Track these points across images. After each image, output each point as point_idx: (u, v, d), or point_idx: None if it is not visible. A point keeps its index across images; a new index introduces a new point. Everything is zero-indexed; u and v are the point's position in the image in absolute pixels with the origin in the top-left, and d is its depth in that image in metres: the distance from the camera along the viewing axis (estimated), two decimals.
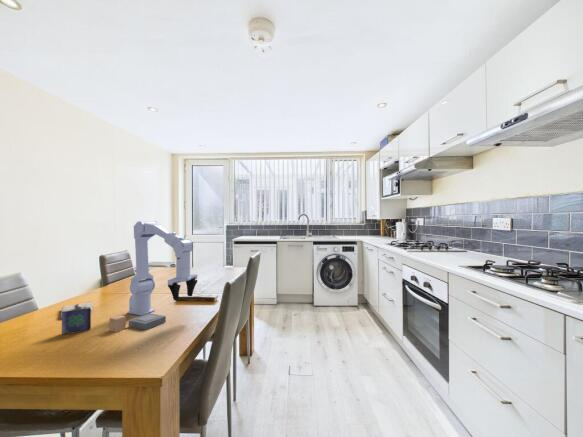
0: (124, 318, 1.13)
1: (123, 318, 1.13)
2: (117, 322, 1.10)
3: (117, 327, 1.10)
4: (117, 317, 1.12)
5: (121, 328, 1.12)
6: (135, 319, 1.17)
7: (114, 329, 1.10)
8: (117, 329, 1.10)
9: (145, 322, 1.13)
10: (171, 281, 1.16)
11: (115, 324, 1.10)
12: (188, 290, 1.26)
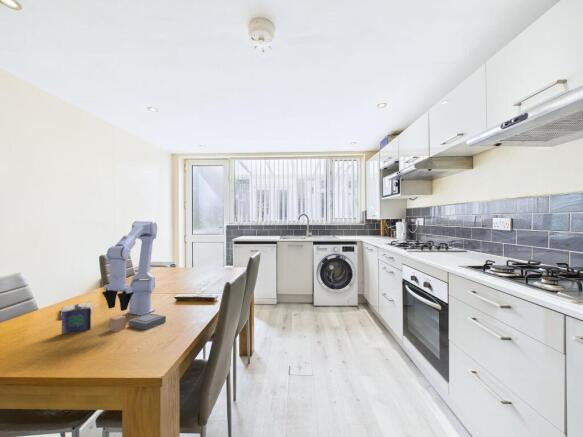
0: (124, 318, 1.13)
1: (123, 318, 1.13)
2: (117, 322, 1.10)
3: (117, 327, 1.10)
4: (117, 317, 1.12)
5: (121, 328, 1.12)
6: (135, 319, 1.17)
7: (114, 329, 1.10)
8: (117, 329, 1.10)
9: (145, 322, 1.13)
10: (104, 286, 1.15)
11: (115, 324, 1.10)
12: None
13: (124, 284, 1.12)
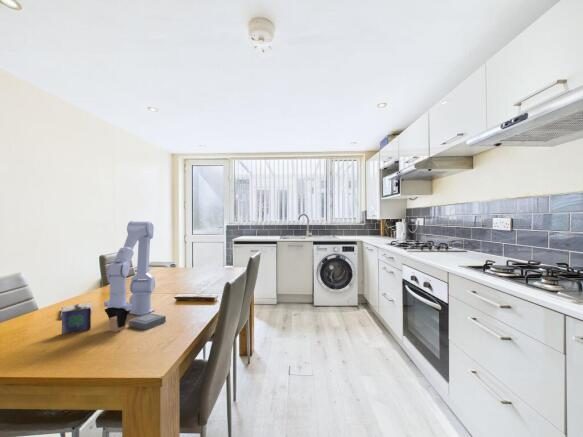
0: None
1: None
2: (117, 322, 1.10)
3: (117, 327, 1.10)
4: None
5: (121, 328, 1.12)
6: (135, 319, 1.17)
7: (114, 329, 1.10)
8: (117, 329, 1.10)
9: (145, 322, 1.13)
10: (104, 302, 1.15)
11: (115, 324, 1.10)
12: None
13: (124, 301, 1.12)
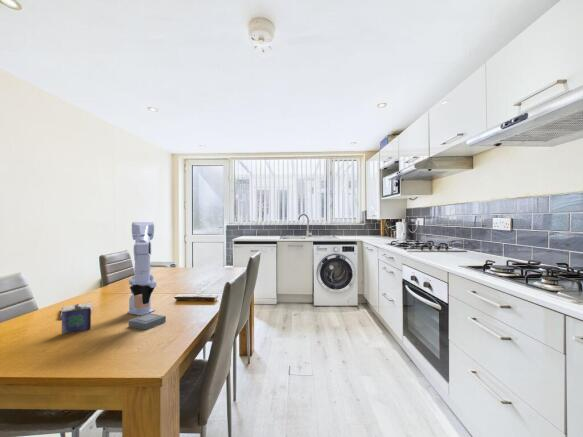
0: None
1: None
2: (141, 299, 1.15)
3: (141, 304, 1.15)
4: (141, 295, 1.17)
5: (145, 305, 1.16)
6: (135, 319, 1.17)
7: (138, 306, 1.15)
8: (141, 306, 1.15)
9: (145, 322, 1.13)
10: (129, 281, 1.19)
11: (139, 301, 1.15)
12: None
13: (148, 279, 1.17)
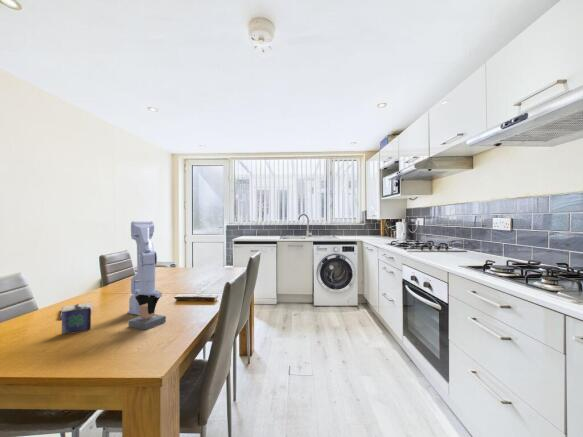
0: None
1: None
2: (147, 309, 1.16)
3: (147, 314, 1.16)
4: (146, 305, 1.18)
5: (150, 315, 1.18)
6: (135, 319, 1.17)
7: (144, 316, 1.16)
8: (147, 316, 1.16)
9: (145, 322, 1.13)
10: (134, 290, 1.20)
11: (145, 311, 1.16)
12: None
13: (154, 289, 1.18)
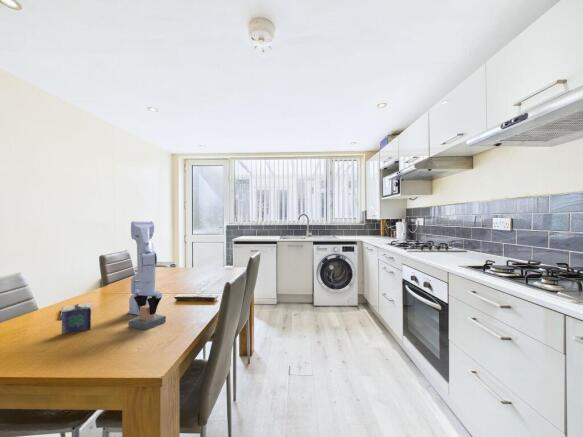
0: None
1: None
2: (147, 311, 1.16)
3: (147, 315, 1.16)
4: (146, 306, 1.18)
5: (150, 316, 1.18)
6: (135, 319, 1.17)
7: (144, 317, 1.16)
8: (147, 317, 1.16)
9: (145, 322, 1.13)
10: (134, 291, 1.20)
11: (145, 312, 1.16)
12: None
13: (154, 289, 1.18)
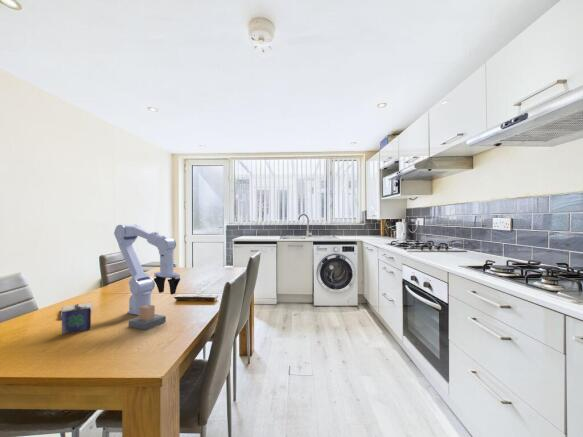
0: (153, 307, 1.19)
1: (152, 307, 1.18)
2: (147, 311, 1.16)
3: (147, 315, 1.16)
4: (146, 306, 1.18)
5: (150, 316, 1.18)
6: (135, 319, 1.17)
7: (144, 317, 1.16)
8: (147, 317, 1.16)
9: (145, 322, 1.13)
10: (155, 273, 1.31)
11: (145, 312, 1.16)
12: None
13: (172, 271, 1.29)
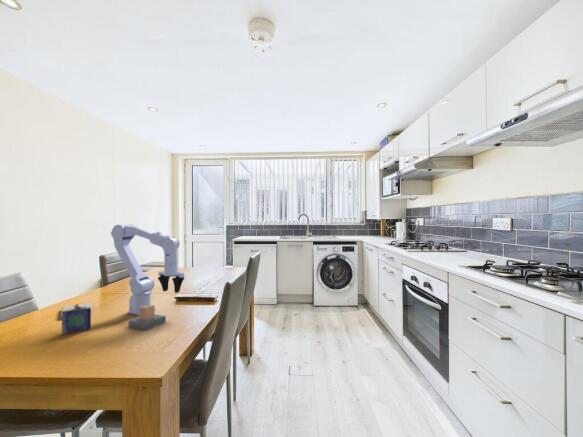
0: (153, 307, 1.19)
1: (152, 307, 1.18)
2: (147, 311, 1.16)
3: (147, 315, 1.16)
4: (146, 306, 1.18)
5: (150, 316, 1.18)
6: (135, 319, 1.17)
7: (144, 317, 1.16)
8: (147, 317, 1.16)
9: (145, 322, 1.13)
10: (159, 272, 1.34)
11: (145, 312, 1.16)
12: None
13: (176, 270, 1.32)
